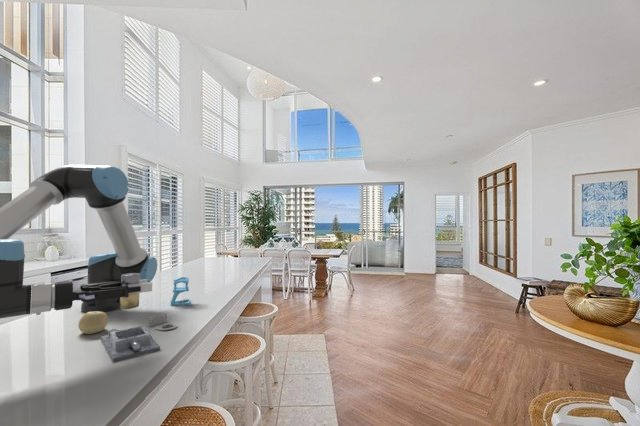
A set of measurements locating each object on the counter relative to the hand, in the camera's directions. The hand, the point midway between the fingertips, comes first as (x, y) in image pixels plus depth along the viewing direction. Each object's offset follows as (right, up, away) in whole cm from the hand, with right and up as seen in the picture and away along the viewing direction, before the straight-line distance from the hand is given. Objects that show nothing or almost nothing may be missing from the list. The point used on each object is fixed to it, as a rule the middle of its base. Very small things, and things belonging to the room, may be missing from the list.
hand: (149, 285), depth 97 cm
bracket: (-2, -19, +13) cm, 23 cm away
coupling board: (-4, -18, -4) cm, 18 cm away
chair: (-9, -18, +40) cm, 45 cm away
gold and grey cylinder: (-4, -6, -4) cm, 8 cm away
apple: (-22, -18, +6) cm, 29 cm away
